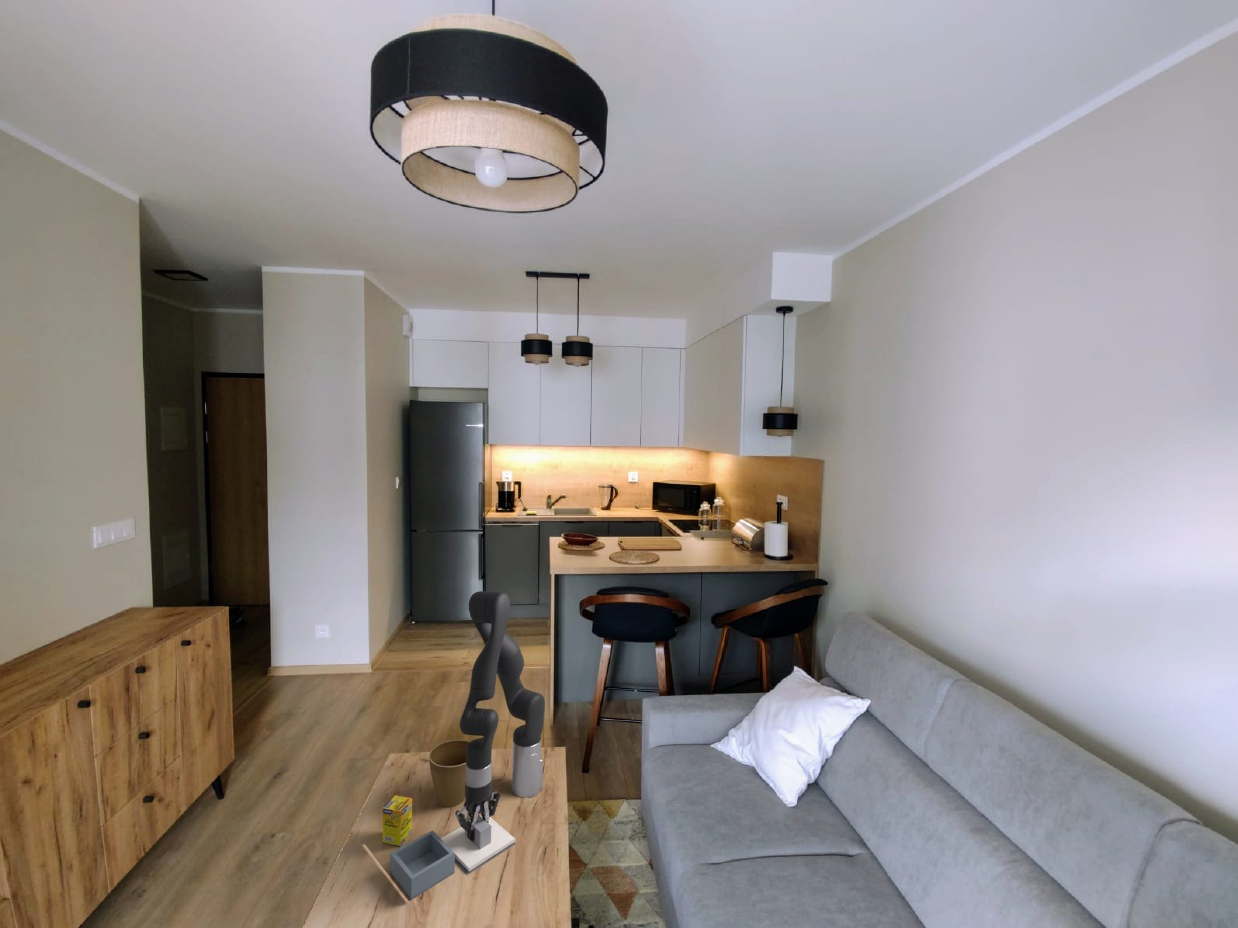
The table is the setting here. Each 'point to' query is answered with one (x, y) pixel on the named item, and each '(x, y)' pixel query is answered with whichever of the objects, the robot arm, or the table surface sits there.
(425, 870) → the grey storage bin
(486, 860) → the mat
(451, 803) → the plant pot
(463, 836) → the lid
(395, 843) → the supplement box
